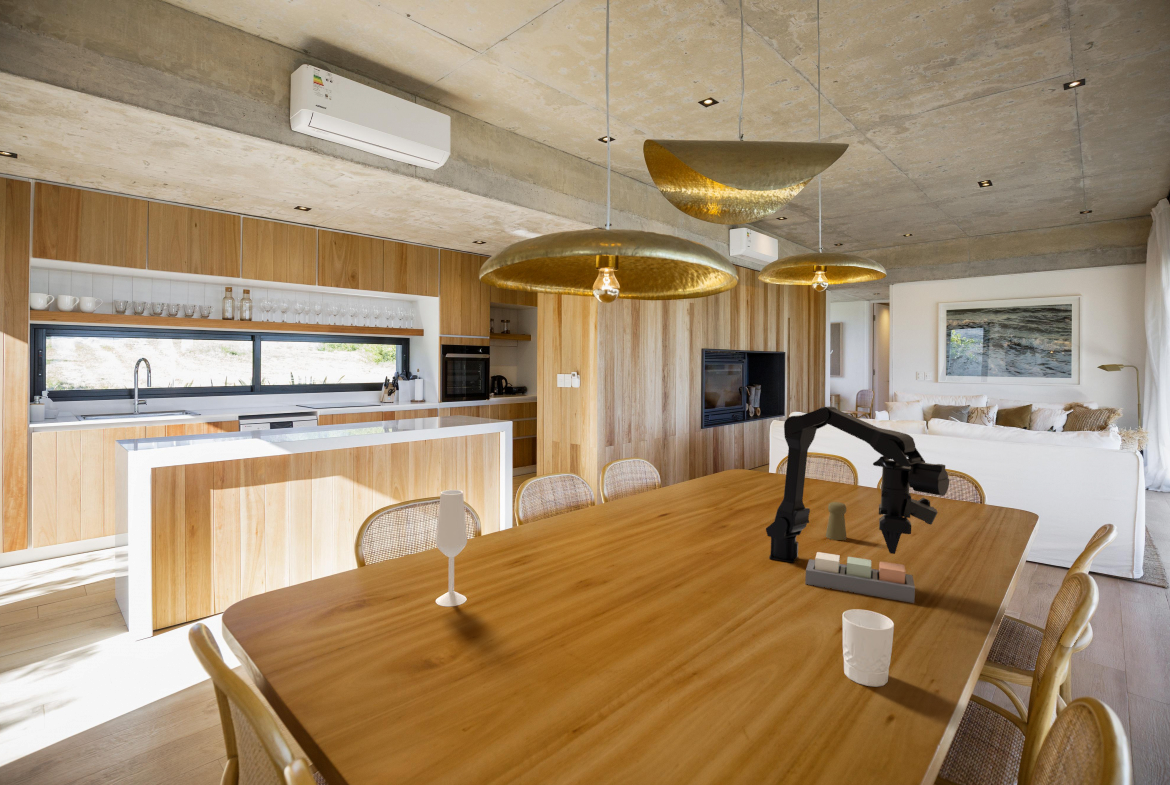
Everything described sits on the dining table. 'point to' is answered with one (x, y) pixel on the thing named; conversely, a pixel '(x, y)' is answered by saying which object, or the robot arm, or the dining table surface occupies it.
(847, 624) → the white cup
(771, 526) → the robot arm
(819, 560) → the cream key
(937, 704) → the dining table surface
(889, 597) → the keypad
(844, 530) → the olive pepper mill
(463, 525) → the champagne flute
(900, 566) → the terracotta key
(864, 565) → the sage key
